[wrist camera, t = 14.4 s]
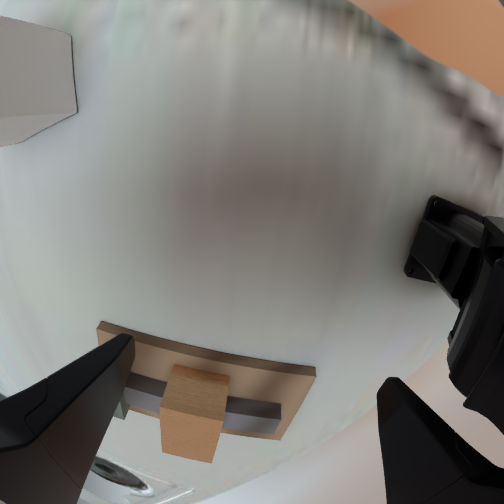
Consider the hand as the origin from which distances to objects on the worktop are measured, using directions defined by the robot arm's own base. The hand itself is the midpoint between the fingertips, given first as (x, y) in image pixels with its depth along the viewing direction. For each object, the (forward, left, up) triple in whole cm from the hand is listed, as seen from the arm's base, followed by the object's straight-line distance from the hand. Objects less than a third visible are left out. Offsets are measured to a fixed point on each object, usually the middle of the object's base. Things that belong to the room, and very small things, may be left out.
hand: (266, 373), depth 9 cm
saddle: (+3, +17, -11) cm, 20 cm away
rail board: (+3, +17, -12) cm, 21 cm away
